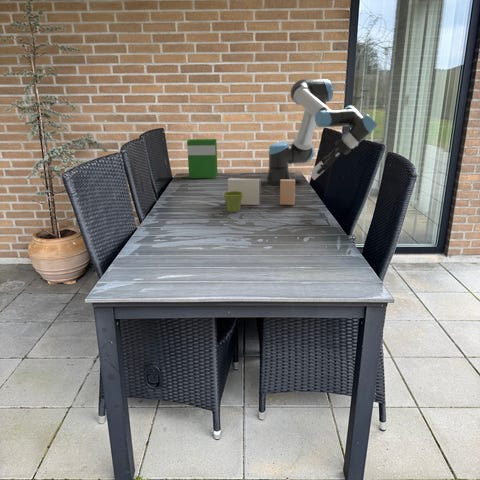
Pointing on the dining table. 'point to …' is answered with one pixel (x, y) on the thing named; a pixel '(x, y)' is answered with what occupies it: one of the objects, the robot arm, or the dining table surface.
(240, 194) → the plant pot
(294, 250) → the dining table surface
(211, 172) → the hardback book
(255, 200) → the block
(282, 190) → the tan rectangular block
